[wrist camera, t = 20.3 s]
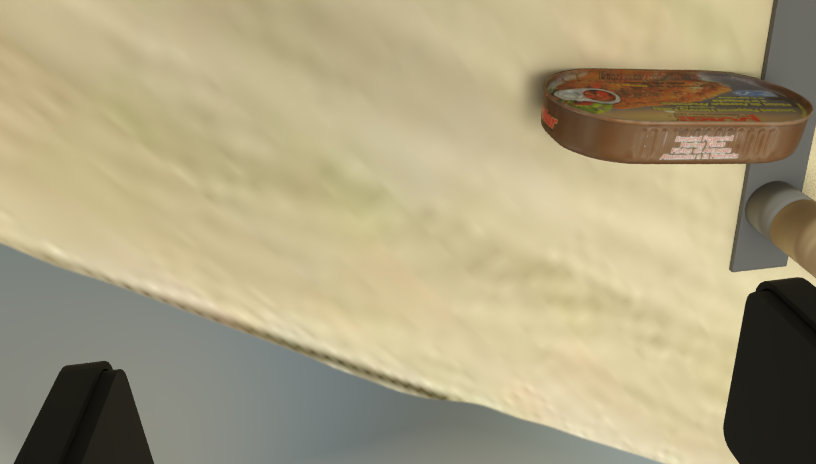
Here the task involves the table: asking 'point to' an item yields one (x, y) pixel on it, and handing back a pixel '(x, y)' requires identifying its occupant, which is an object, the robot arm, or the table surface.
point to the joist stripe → (811, 78)
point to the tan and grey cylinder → (785, 221)
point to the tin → (673, 116)
